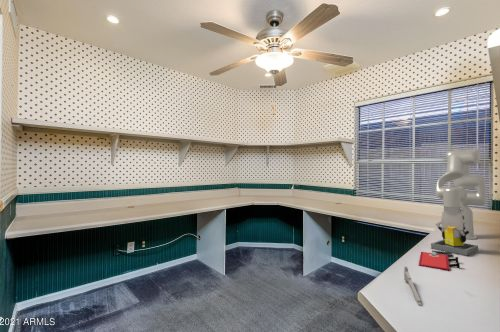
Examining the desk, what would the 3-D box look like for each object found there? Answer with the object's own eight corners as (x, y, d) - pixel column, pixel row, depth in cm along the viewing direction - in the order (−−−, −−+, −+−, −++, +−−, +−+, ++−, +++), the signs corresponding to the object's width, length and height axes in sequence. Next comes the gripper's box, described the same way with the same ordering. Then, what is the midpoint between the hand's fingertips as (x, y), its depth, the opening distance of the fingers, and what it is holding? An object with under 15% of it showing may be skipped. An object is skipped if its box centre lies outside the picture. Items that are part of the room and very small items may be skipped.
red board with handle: (456, 255, 127) (421, 250, 136) (456, 249, 127) (421, 245, 137) (461, 274, 104) (418, 267, 113) (460, 267, 104) (418, 261, 113)
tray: (443, 244, 147) (443, 239, 147) (478, 251, 133) (477, 245, 133) (431, 248, 139) (430, 243, 139) (466, 256, 125) (466, 250, 125)
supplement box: (454, 244, 139) (453, 225, 139) (464, 247, 133) (463, 227, 134) (444, 244, 139) (443, 225, 139) (453, 247, 133) (452, 227, 133)
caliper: (404, 280, 98) (403, 265, 98) (407, 281, 97) (406, 265, 98) (418, 306, 79) (417, 286, 79) (422, 306, 78) (421, 287, 79)
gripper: (474, 210, 131) (476, 243, 131) (437, 207, 146) (438, 236, 145) (469, 212, 127) (471, 245, 127) (431, 208, 142) (432, 238, 142)
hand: (453, 240), depth 136 cm, fingers closed on supplement box, 7 cm apart
